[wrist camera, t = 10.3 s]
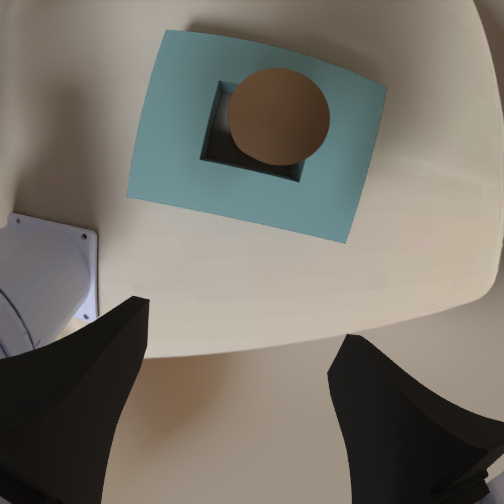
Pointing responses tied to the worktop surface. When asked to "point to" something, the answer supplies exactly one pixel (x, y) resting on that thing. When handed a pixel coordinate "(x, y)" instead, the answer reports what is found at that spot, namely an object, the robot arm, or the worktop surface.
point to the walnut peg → (278, 116)
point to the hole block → (241, 177)
